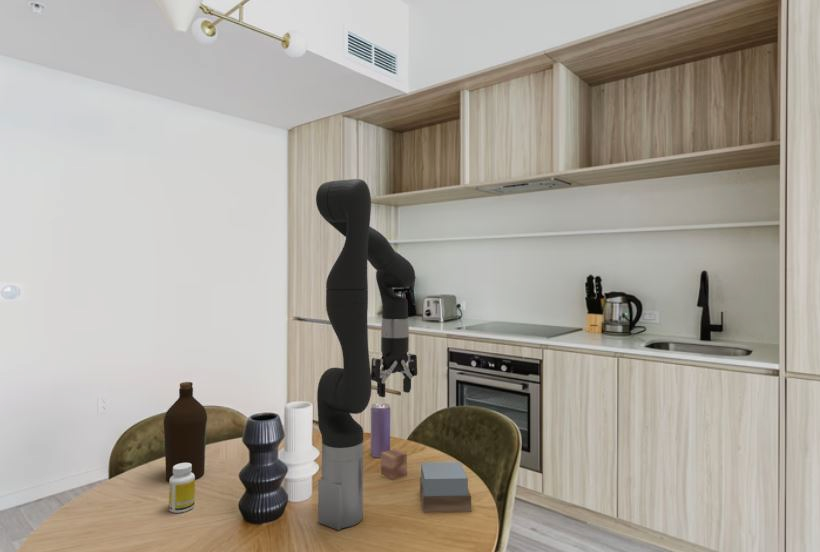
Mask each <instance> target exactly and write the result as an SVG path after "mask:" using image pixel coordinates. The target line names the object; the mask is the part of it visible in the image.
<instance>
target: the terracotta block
mask: <svg viewBox="0 0 820 552" xmlns="http://www.w3.org/2000/svg"><path fill="white" fill-rule="evenodd" d="M407 459H408V453H406V452H405V451H402V450H400V449H397V448H392V449H390V450H389V451H385V452H381V458H380V464H381V465H380V466H381V467H380V474H382V475H381V476H383V475H384V476H383V477H386V478H387V479H389V480H391V481H395V480H397V479H400V478H403V477H406V476H407V475H408V460H407ZM394 479H395V480H394Z"/></svg>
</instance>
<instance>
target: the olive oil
mask: <svg viewBox="0 0 820 552" xmlns="http://www.w3.org/2000/svg"><path fill="white" fill-rule="evenodd" d="M193 385H194V384H193V382H191V381H183V382H180V383H179V388H178V389H179V390H178V393H179V395H178V399H176V401H174V403H173V404H172V405H170V406H169V408H168V409H167V410H166V412H165V414H164V418H163V435H164V437H163V439H164V457H165V462H164V463H165V479H166V481H167V482H169V480H170V478H171V476H173V475H174V474H173V466H175V465H177V464H180V463H191V464H192V471H191V472H192V473H193V474H194V475H195V481H196V480H198V479H200V478H202V476H204V475H205V464H206V463H205V461H206V446H207V445H206V444H207V431H208V430H207V429H208V427H207V426H208V413H207V410H206V409H205V406H204V405H203V404H201V403H200V402H199V401H198V400H197V399H196V398H195V397H194V387H193Z"/></svg>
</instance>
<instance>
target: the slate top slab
mask: <svg viewBox="0 0 820 552" xmlns="http://www.w3.org/2000/svg"><path fill="white" fill-rule="evenodd" d="M420 477H421V481H422V486H423V491H424V496H468V489H469V477H468V475H467V472H466V471H465V468H464V466H463V464H462V462H461V461H435V462H434V461H429V462H426V461H424V462H422V461H421V462H420Z"/></svg>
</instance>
